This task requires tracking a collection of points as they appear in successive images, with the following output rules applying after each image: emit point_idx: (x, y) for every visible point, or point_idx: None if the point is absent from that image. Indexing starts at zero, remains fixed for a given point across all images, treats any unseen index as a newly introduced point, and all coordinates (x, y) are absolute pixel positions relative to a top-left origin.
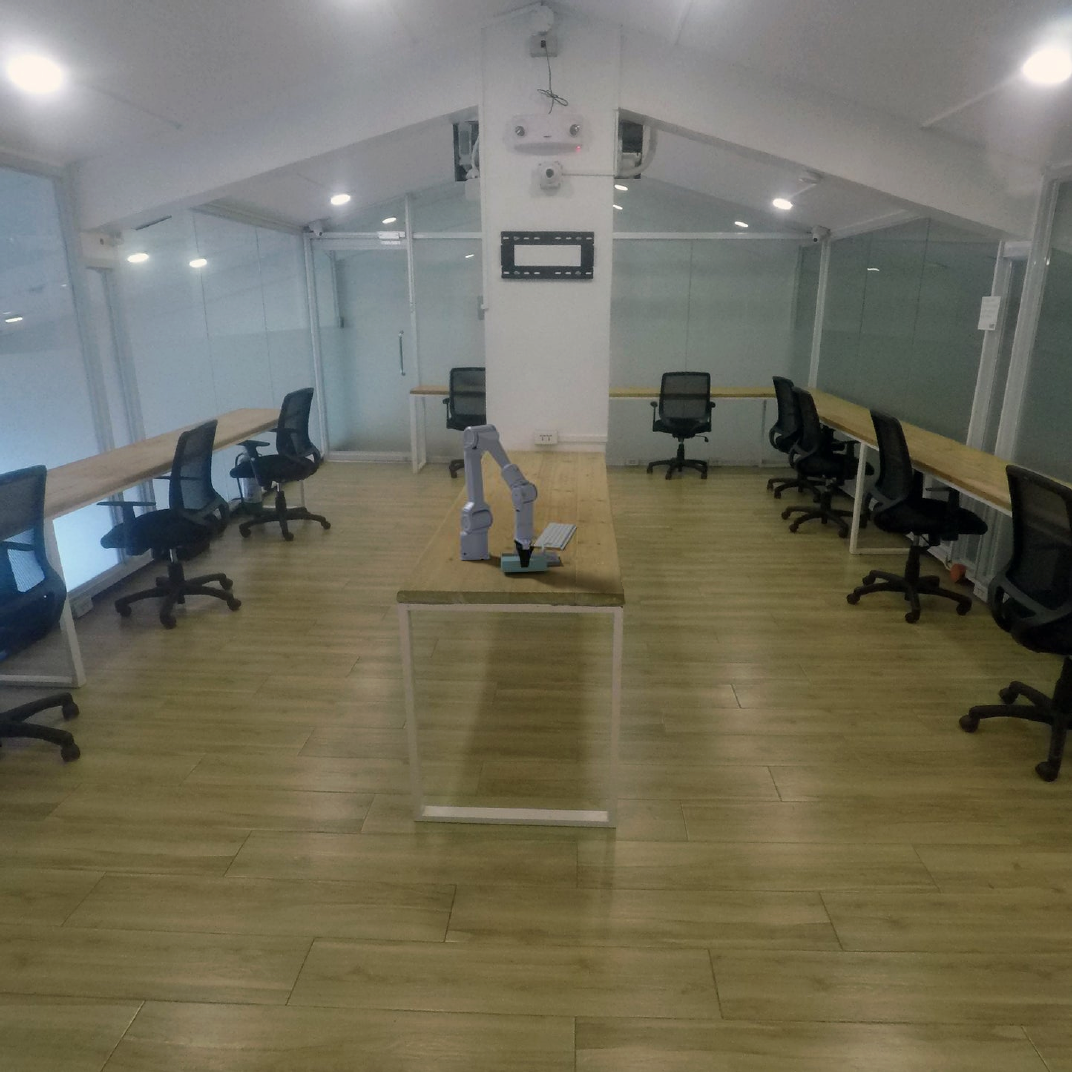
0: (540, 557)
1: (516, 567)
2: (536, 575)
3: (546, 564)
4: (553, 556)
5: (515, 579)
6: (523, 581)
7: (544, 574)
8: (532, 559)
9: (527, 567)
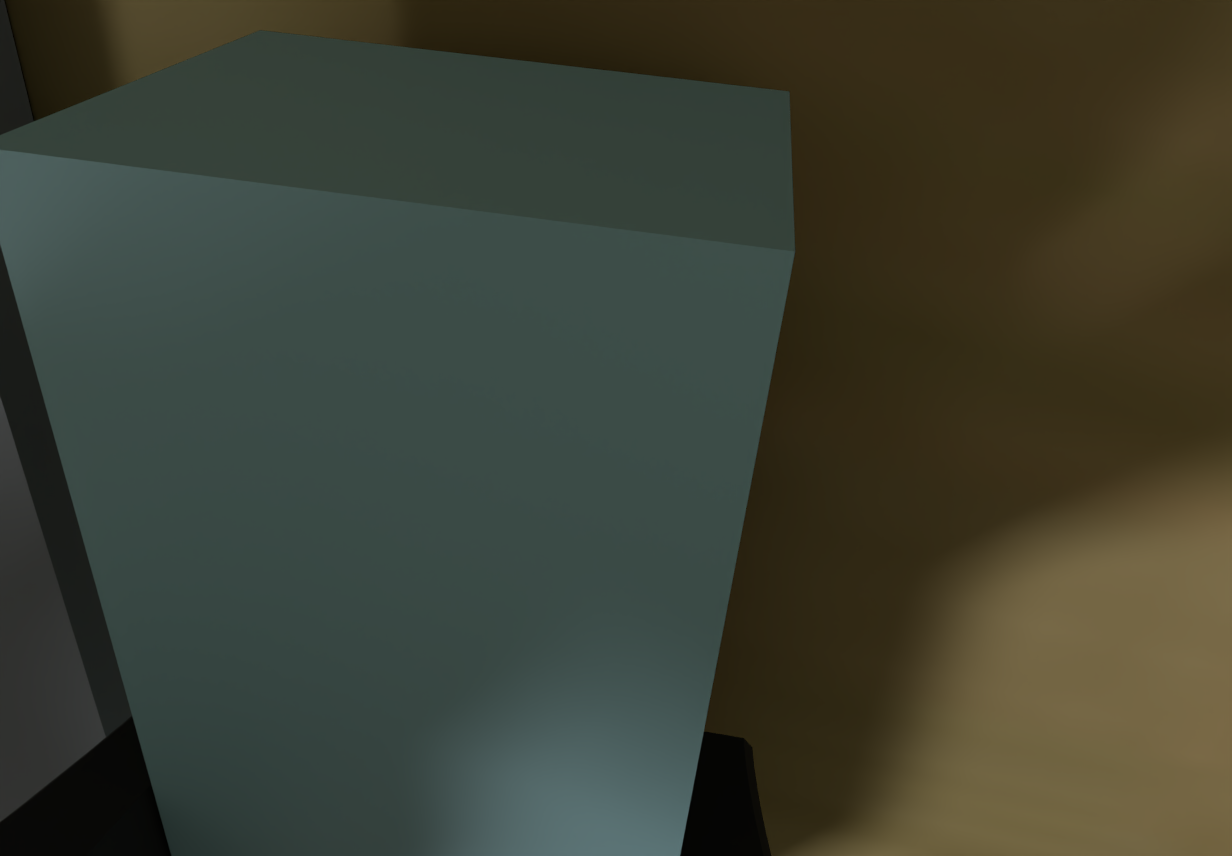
0: (312, 454)
1: None
2: (813, 390)
3: (784, 191)
4: None
5: (934, 822)
6: (1135, 742)
7: (792, 148)
8: (558, 775)
9: (748, 749)
